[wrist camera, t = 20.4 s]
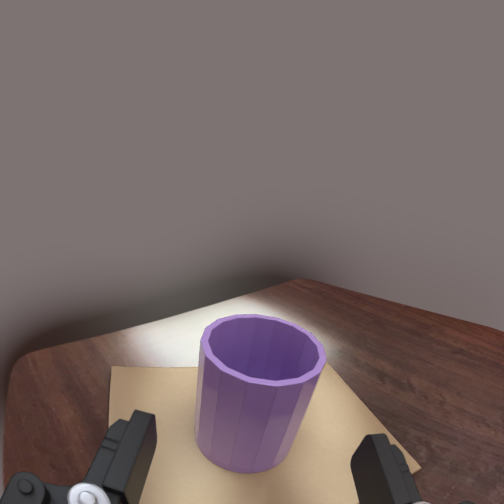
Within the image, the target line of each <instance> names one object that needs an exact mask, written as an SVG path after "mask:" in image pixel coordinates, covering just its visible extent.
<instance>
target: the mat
mask: <svg viewBox="0 0 504 504" xmlns="http://www.w3.org/2000/svg"><path fill="white" fill-rule="evenodd" d="M197 376H198V367H120V366H112V370H111V383H110V399H109V427H110V426H111V425H112V424H113V423H115V422H116V421H117V420H118V419H123V420H126V421H129V420H130V418H131V416H132V413H133V412H134V410H135V409H137V410H140V411H144V412H148V413H152V414H155V417H156V429H157V445H156V450H155V453H154V456H153V460H152V463H151V466H150V469H149V472H148V475H147V479H146V482H145V485H144V488H143V491H142V495H141V498H140V501H139V504H359V500H358V496H357V492H356V488H355V484H354V480H353V476H352V472H351V467H350V462H351V458H352V455H353V454H354V452H355V451H356V449H357V448H358V446H359V445H360V443H361V441H362V440H363V438H364V437H365V436H366V435H368V434H380V433H384V434H386V435H387V437H388V439H389V441H390V444H395V445H396V446H397V447H398V448H399V449H400V450H401V451H402V452H403V455H404V457H405V459H406V464H408V467H409V469H410V472H411V474H412V475H414V474H415V473H417V472H418V471H419V470H420V469H421V467H420V466H419V465H418V463H417V462H416V461H415V460H414V459H413V458H412V457H411V456H410V455H409V454H408V453H407V451H406V450H405V449H404V448H403V447H402V446H401V445H400V444H399V443H398V442H397V440H396V439H395V438H394V437H393V436H392V435H391V434H390V433H389V432H388V430H387V429H386V428H385V427H384V426H383V425H382V424H381V423H380V421H379V420H378V419H377V418H376V417H375V416H374V415H373V414H372V413H371V411H370V410H369V409H368V408H367V407H366V406H365V405H364V404H363V402H362V401H361V400H360V399H359V398H358V397H357V396H356V395H355V393H354V392H353V391H352V390H351V389H350V388H349V387H348V385H347V384H346V383H345V382H344V381H343V380H342V379H341V378H340V376H339V375H338V374H337V373H336V372H335V371H334V370H333V368H332V367H331V366H330V365H329V364H328V363H327V362H326V363H325V366H324V368H323V371H322V374H321V377H320V379H319V382H318V385H317V387H316V390H315V393H314V395H313V398H312V400H311V403H310V405H309V408H308V410H307V413H306V415H305V418H304V420H303V423H302V425H301V427H300V430H299V432H298V434H297V437H296V439H295V441H294V443H293V445H292V447H291V449H290V451H289V453H288V455H287V456H286V458H285V459H284V460H283V461H282V462H281V463H280V464H278V465H277V466H275V467H273V468H271V469H269V470H266V471H263V472H258V473H238V472H233V471H229V470H226V469H224V468H221V467H219V466H217V465H216V464H214V463H213V462H211V461H210V460H209V459H207V458H206V457H205V456H204V455H203V453H202V452H201V451H200V449H199V447H198V445H197V443H196V440H195V430H194V421H195V405H196V390H197Z"/></svg>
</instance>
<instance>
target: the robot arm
mask: <svg viewBox="0 0 504 504" xmlns="http://www.w3.org/2000/svg"><path fill="white" fill-rule="evenodd" d="M156 445H157V429H156V417H155V414H152V413H148V412H144V411H140V410H137V409H135V410H134V412H133V413H132V416H131V418H130V420H129V421H126V420H123V419H118V420H117V421H116V422H115V423H113V424H112V425H111V426H110V427H109V429H108V431H107V433H106V435H105V438H104V439H103V441H102V443H101V446H100V447H99V449H98V451H97V453H96V455H95V457H94V460H93V462H92V464H91V466H90V468H89V470H88V472H87V474H86V476H85V478H84V479H83V480H82V481H81V482H80V483H78V484H76V485H73V486H60V485H54V484H49V483H44V482H42V481H41V480H40V479H39V478H38V477H37V476H36V475H34V474H32V473H29V472H18V473H16V474H14V475H13V476H12V477H11V479H10V481H9V483H8V485H7V487H6V489H5V491H4V493H3V495H2V497H1V499H0V504H139V501H140V498H141V495H142V491H143V488H144V485H145V482H146V479H147V475H148V472H149V469H150V466H151V463H152V460H153V456H154V453H155V450H156ZM350 467H351V472H352V476H353V480H354V484H355V488H356V492H357V496H358V500H359V504H430V503H428V502H423V500H422V499H421V497H420V494H419V491H418V489H417V486H416V484H415V481H414V479H413V476H412V474H411V472H410V469H409V467H408V464H406V459H405V457H404V455H403V452H402V451H401V450H400V449H399V448H398V447H397V446H396V445H395V444H390V441H389V439H388V437H387V435H386V434H384V433H380V434H368V435H366V436H365V437H364V438H363V440H362V441H361V443H360V445H359V446H358V448H357V449H356V451H355V452H354V454H353V455H352V458H351V462H350ZM460 504H474V503H473V502H470V501H464V502H461V503H460Z"/></svg>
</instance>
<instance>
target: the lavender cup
mask: <svg viewBox="0 0 504 504" xmlns="http://www.w3.org/2000/svg"><path fill="white" fill-rule="evenodd" d="M325 363H326V355H325V351H324V347H323V345H322V344H321V343H320V342H319V341H318V340H317V339H316V338H315V336H314V335H313V334H312V333H310V332H308V331H306V330H305V329H303V328H301V327H300V326H298V325H296V324H294V323H291V322H288V321H285V320H282V319H279V318H276V317H270V316H263V315H257V314H243V315H232V316H228V317H224V318H220V319H218V320H216V321H215V322H213V323H212V324H210V325H209V326H207V327H206V328H205V330H204V333H203V335H202V338H201V340H200V351H199V364H198V376H197V390H196V405H195V421H194V430H195V440H196V443H197V445H198V447H199V449H200V451H201V452H202V453H203V455H204V456H205V457H206V458H207V459H209V460H210V461H211V462H213V463H214V464H216V465H217V466H219V467H221V468H224V469H226V470H229V471H233V472H238V473H258V472H263V471H266V470H269V469H271V468H273V467H275V466H277V465H278V464H280V463H281V462H282V461H283V460H284V459H285V458H286V456H287V455H288V453H289V451H290V449H291V447H292V445H293V443H294V441H295V439H296V437H297V434H298V432H299V430H300V427H301V425H302V423H303V420H304V418H305V415H306V413H307V410H308V408H309V405H310V403H311V400H312V398H313V395H314V393H315V390H316V387H317V385H318V382H319V379H320V377H321V374H322V371H323V368H324V366H325Z"/></svg>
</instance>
